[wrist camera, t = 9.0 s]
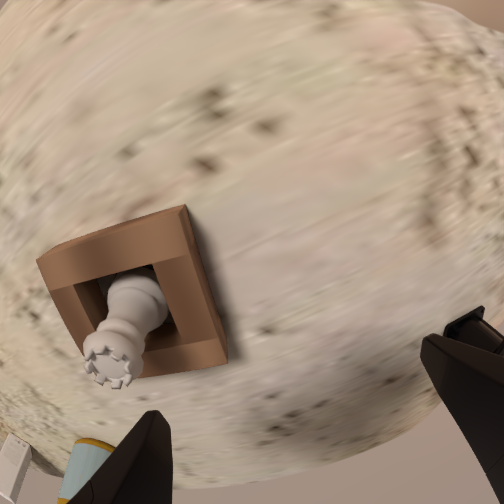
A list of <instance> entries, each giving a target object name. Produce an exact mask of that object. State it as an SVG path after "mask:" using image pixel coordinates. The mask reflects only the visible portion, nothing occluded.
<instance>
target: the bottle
mask: <svg viewBox="0 0 504 504" xmlns="http://www.w3.org/2000/svg"><path fill="white" fill-rule="evenodd" d="M114 450H115V448H114V447H112V446H110V445H109V444H107V443H104V442H102V441H99V440H96V439H92V438H82V439H80V440H77V441H76V442H75V444H74V446H73V449H72V452H71V455H70V459H69V462H68V465H67V468H66V471H65V475H64V478H63V482H62V485H61V489H60V493H59V497H58V502H57V503H58V504H66V503H67V502H68V501H69V500H70V499H71V498H72V497H73V496H74V495H75V494H76V493H77V492H78V491H79V490H80V489H81V488H82V487H83V486H84V485H85V483H86V482H87V481H88V480H89V479H90V478H91V477H92V475H93V474H94V473H95V472H96V471H97V470H98V468H99V467H100V466H101V465H102V464H103V463H104V461H105V460H106V459H107V458H108V457H109V455H110V454H111V453H112V452H113V451H114Z"/></svg>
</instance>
